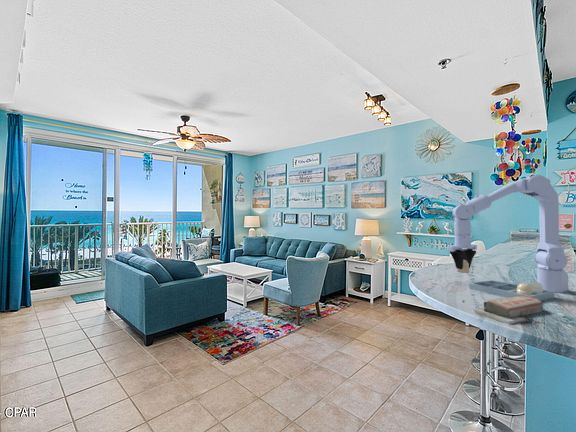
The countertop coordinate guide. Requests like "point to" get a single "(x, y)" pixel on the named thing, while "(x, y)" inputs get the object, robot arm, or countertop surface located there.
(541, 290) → the seated egg
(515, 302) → the packaged product
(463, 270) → the loose egg
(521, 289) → the seated egg
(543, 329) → the countertop surface
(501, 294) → the egg carton
